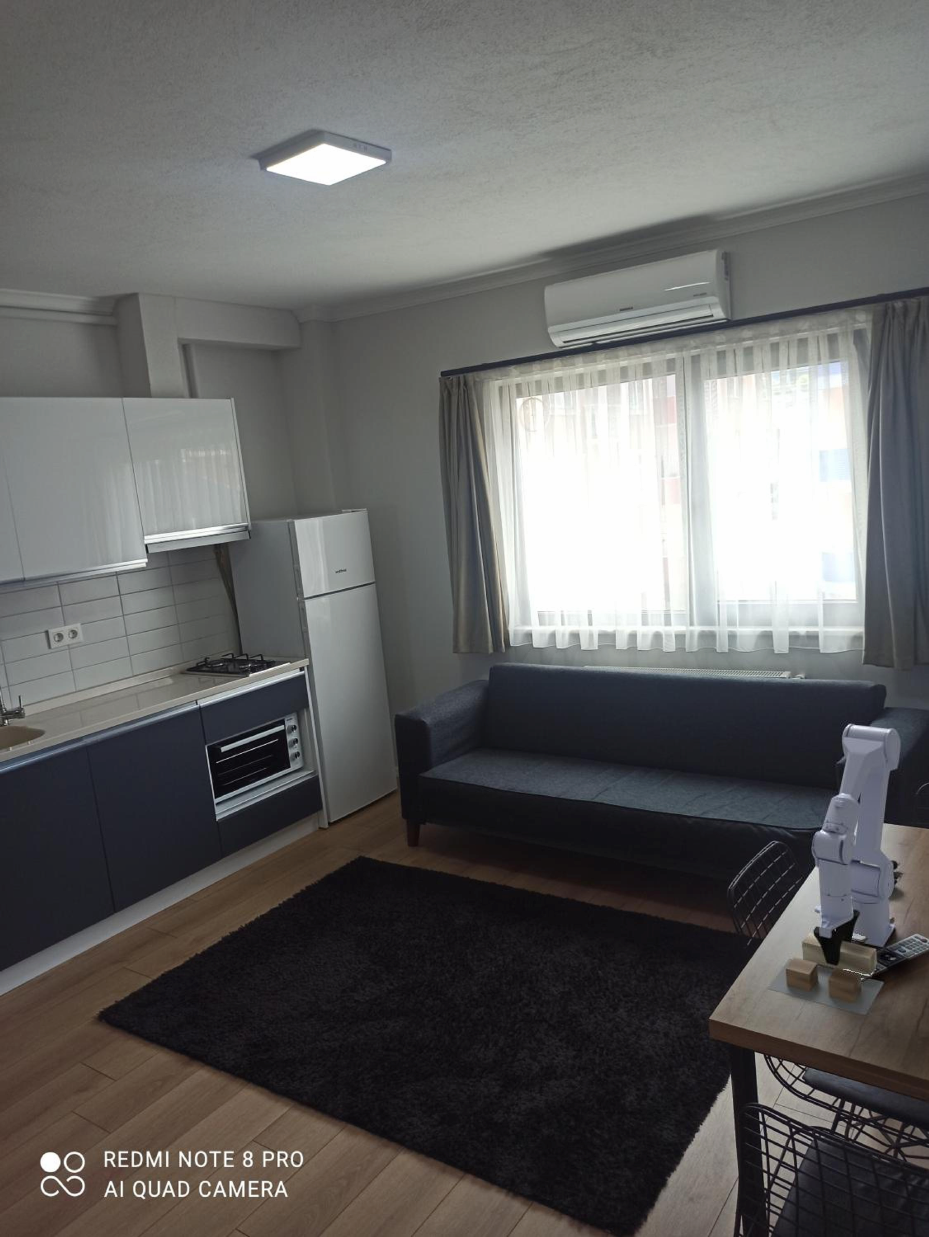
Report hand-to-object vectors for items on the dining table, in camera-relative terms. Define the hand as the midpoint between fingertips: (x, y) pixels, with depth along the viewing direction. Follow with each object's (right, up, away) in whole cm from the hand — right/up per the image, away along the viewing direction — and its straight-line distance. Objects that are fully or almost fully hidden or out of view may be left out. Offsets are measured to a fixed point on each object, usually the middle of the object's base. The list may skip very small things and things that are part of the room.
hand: (838, 954), depth 182 cm
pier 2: (-3, -4, -9) cm, 10 cm away
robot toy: (+21, +5, +33) cm, 39 cm away
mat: (-5, -4, -6) cm, 9 cm away
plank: (0, -3, +1) cm, 3 cm away
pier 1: (-9, -4, -4) cm, 10 cm away
